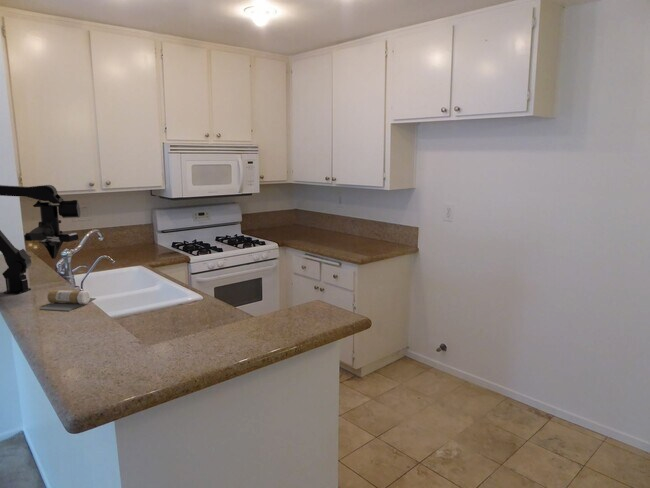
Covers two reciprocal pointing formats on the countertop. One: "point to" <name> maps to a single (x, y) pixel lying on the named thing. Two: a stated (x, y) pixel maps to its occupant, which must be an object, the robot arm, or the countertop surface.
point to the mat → (63, 306)
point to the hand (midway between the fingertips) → (53, 258)
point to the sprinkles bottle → (68, 296)
